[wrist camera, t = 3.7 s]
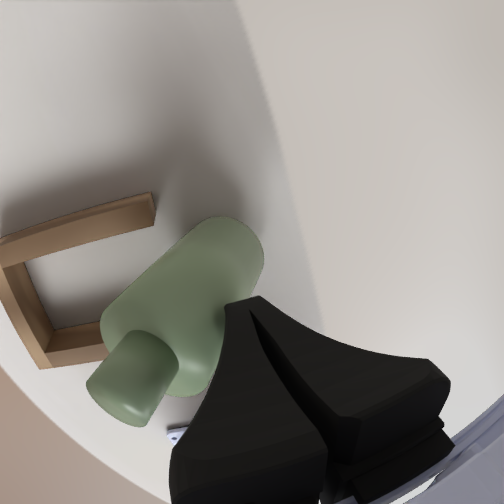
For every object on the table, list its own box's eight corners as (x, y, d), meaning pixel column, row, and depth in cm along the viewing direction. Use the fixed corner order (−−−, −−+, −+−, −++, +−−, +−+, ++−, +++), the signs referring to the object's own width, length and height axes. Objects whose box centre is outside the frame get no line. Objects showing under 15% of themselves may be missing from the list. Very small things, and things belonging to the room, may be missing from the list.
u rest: (185, 318, 19) (188, 342, 16) (48, 346, 17) (39, 369, 15) (151, 191, 15) (147, 201, 13) (0, 238, 14) (-20, 253, 11)
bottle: (268, 290, 17) (199, 458, 8) (197, 288, 18) (97, 424, 9) (258, 214, 15) (147, 366, 6) (180, 219, 16) (39, 337, 7)
